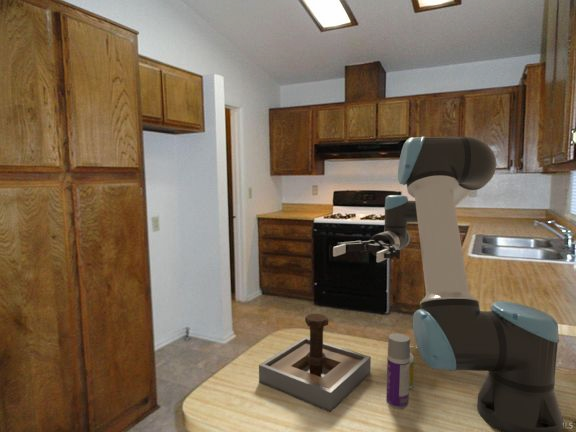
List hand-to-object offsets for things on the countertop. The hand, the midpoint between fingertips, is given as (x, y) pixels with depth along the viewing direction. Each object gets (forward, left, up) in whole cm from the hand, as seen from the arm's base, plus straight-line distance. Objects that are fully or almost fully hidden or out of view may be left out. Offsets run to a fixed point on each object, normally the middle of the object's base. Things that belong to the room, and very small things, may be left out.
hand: (355, 254), depth 108 cm
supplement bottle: (-18, +11, -28) cm, 35 cm away
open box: (0, +21, -28) cm, 34 cm away
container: (-20, +19, -28) cm, 39 cm away
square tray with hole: (0, +21, -28) cm, 34 cm away
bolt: (0, +20, -27) cm, 34 cm away
